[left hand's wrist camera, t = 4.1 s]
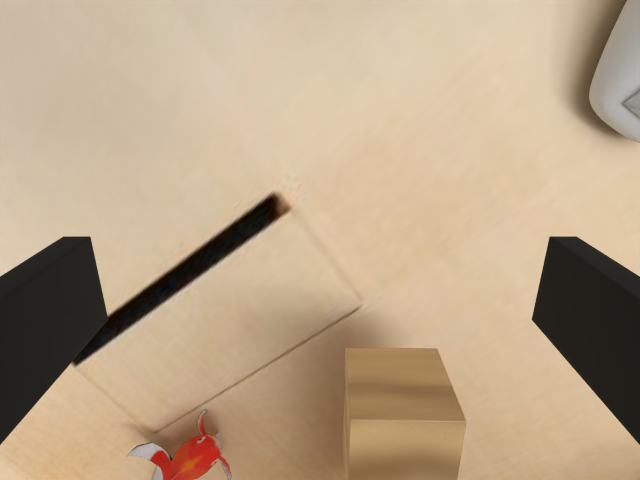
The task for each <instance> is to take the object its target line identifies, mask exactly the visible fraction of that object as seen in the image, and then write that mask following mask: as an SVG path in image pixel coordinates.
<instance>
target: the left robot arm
mask: <svg viewBox="0 0 640 480" xmlns="http://www.w3.org/2000/svg"><path fill="white" fill-rule="evenodd" d="M107 320H108V317H107V312H106V307H105V303H104V298H103V293H102V289H101V284H100V280H99V275H98V270H97V266H96V261H95V256H94V252H93V247H92V242H91V238H90V237H62V238H61V239H59V240H57V241H56V242H54V243H53V244H51V245H50V246H48V247H46V248H45V249H43V250H42V251H40V252H38V253H37V254H35V255H34V256H32V257H31V258H29V259H27V260H26V261H24V262H23V263H21V264H20V265H18V266H16V267H15V268H13V269H12V270H10V271H8V272H7V273H5V274H4V275H2V276H1V277H0V444H1V443H2V442H3V441H4V440H5V439H6V438H7V436H8V435H9V434H10V433H11V432H12V431H13V429H14V428H15V427H16V426H17V425H18V424H19V422H20V421H21V420H22V419H23V418H24V417H25V416H26V414H27V413H28V412H29V411H30V410H31V409H32V407H33V406H34V405H35V404H36V403H37V402H38V400H39V399H40V398H41V397H42V396H43V395H44V393H45V392H46V391H47V390H48V389H49V388H50V387H51V385H52V384H53V383H54V382H55V381H56V380H57V378H58V377H59V376H60V375H61V374H62V373H63V371H64V370H65V369H66V368H67V367H68V366H69V365H70V363H71V362H72V361H73V360H74V359H75V358H76V356H77V355H78V354H79V353H80V352H81V351H82V349H83V348H84V347H85V346H86V345H87V344H88V342H89V341H90V340H91V339H92V338H93V337H94V336H95V334H96V333H97V332H98V331H99V330H100V329H101V327H102V326H103V325H104V324H105V323H106V322H107ZM532 320H533V322H534V323H535V324H536V325H537V326H538V327H539V329H540V330H541V331H542V332H543V333H544V334H545V336H546V337H547V338H548V339H549V340H550V341H551V342H552V344H553V345H554V346H555V347H556V348H557V349H558V351H559V352H560V353H561V354H562V355H563V356H564V358H565V359H566V360H567V361H568V362H569V363H570V365H571V366H572V367H573V368H574V369H575V370H576V371H577V373H578V374H579V375H580V376H581V377H582V378H583V380H584V381H585V382H586V383H587V384H588V385H589V387H590V388H591V389H592V390H593V391H594V392H595V393H596V395H597V396H598V397H599V398H600V399H601V400H602V402H603V403H604V404H605V405H606V406H607V407H608V409H609V410H610V411H611V412H612V413H613V414H614V416H615V417H616V418H617V419H618V420H619V421H620V422H621V424H622V425H623V426H624V427H625V428H626V429H627V431H628V432H629V433H630V434H631V435H632V436H633V438H634V439H635V440H636V441H637V442H638V443H639V444H640V277H639V276H638V275H636V274H635V273H633V272H632V271H630V270H628V269H627V268H625V267H624V266H622V265H620V264H619V263H617V262H616V261H614V260H613V259H611V258H609V257H608V256H606V255H605V254H603V253H602V252H600V251H598V250H597V249H595V248H594V247H592V246H590V245H589V244H587V243H586V242H584V241H583V240H581V239H579V238H578V237H550V238H549V242H548V247H547V252H546V256H545V261H544V266H543V270H542V275H541V280H540V284H539V289H538V293H537V298H536V303H535V307H534V312H533V317H532Z"/></svg>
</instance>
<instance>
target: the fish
mask: <svg viewBox="0 0 640 480" xmlns="http://www.w3.org/2000/svg"><path fill="white" fill-rule="evenodd" d="M205 413H207V410H203V412H202V413H201V415H200V417H199V419H198V428H199V432H200V434H201V436H197V437H194V438H192V439H190V440H189V441H187V442H185V443H184V444H183V445H182V446H181V447H180V448H179V449H178V450H177V452H176V453H175V455H174V457H173V459H172V458H171V457H170V456H169V454H168V453H167V452H166V451H165V450H164V449H163V448H161V447H159V446H158V445H156V444H154V443H152V442H150V443H146V444H142V445H138V446H136V447H135V448H134V449H133V450H132V451H131V452H130V453H129V454H128V455H127V456H137V457H142V458H145V459H148V460H150V461H152V462H153V463H155V464H156V465H157V467H156V470H155V473H154V475H153V478H152V480H193V479H197V478H199V477H200V476H202V475H203V474H205V473H206V472H207V471H208V470H209V469H210V468H211V467H212V466H213V465H214V464H215V463H216V462H217V461H218V459H219V460H220V461H221V463H222V466H223V469H224V471H225V473H226V475H227V477H228V480H231V472H230V469H229V465H228V463H227V462H226V460H225V459H224V458H223V457H221V453H222V447H221V444H220V441H219V439H218V438H217V437H218V436H219V433H218V434H216V435H215V436H213V435H211V434H206V433H205V428H204V421H203V416H204V414H205Z"/></svg>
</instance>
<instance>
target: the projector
mask: <svg viewBox="0 0 640 480" xmlns="http://www.w3.org/2000/svg"><path fill="white" fill-rule="evenodd" d="M589 100H590V104H591V106H592V108H593V110H594V111H595V113H596V114H597V115H598V116H599V117H600V118H601V119H602V120H603V121H604V122H605V123H606V124H608V125H609V126H610V127H612V128H613V129H614V130H616V131H617V132H619V133H620V134H622V135H623V136H625V137H627V138H628V139H631V140H633V141H636V142H639V143H640V0H627V1H626V3H625V5H624V7H623V9H622V11H621V13H620V15H619V17H618V20H617V22H616V24H615V26H614V28H613V30H612V32H611V34H610V37H609V39H608V41H607V44H606V46H605V48H604V50H603V53H602V55H601V58H600V60H599V63H598V65H597V68H596V71H595V73H594V76H593V79H592V83H591V86H590V91H589Z"/></svg>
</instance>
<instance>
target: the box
mask: <svg viewBox="0 0 640 480" xmlns="http://www.w3.org/2000/svg"><path fill="white" fill-rule="evenodd" d="M465 427H466V419H465V417H464V414H463V412H462V409H461V407H460V404H459V402H458V399H457V397H456V394H455V392H454V389H453V387H452V384H451V382H450V379H449V377H448V374H447V372H446V370H445V367H444V365H443V362H442V360H441V357H440V355H439V352H438V350H437V349H426V348H346V349H345V387H344V425H343V464H342V480H457V476H458V470H459V464H460V458H461V451H462V445H463V439H464V433H465Z"/></svg>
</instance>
